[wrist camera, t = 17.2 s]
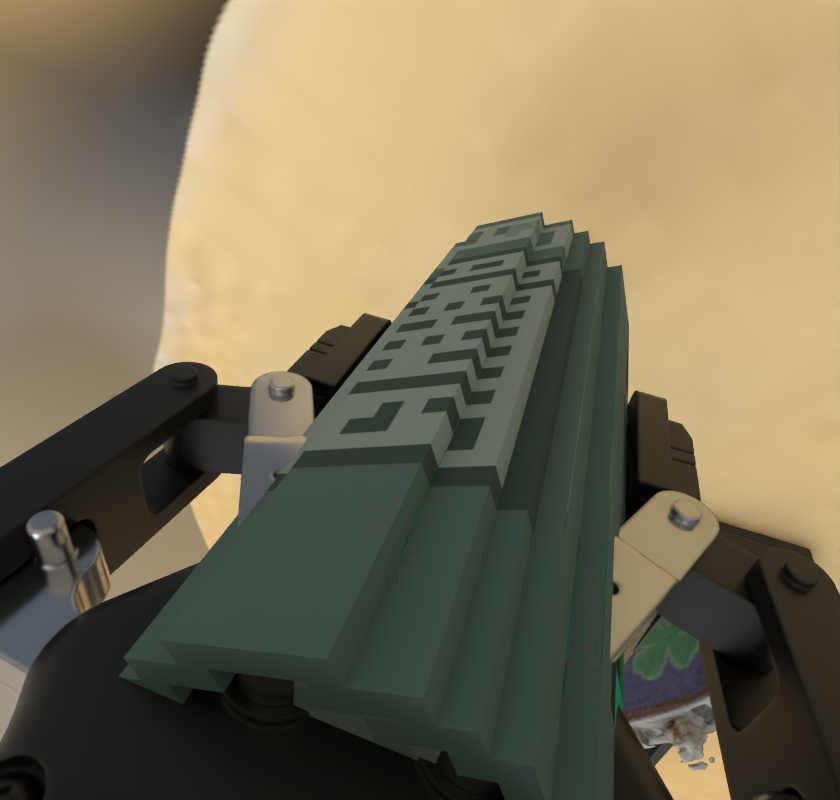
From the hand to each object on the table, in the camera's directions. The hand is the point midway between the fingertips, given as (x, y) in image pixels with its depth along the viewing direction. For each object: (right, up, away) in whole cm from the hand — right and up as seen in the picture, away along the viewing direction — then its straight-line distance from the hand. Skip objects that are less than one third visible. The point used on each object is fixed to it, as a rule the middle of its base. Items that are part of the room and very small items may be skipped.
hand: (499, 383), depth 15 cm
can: (+2, +3, +4) cm, 5 cm away
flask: (+14, -12, +21) cm, 28 cm away
